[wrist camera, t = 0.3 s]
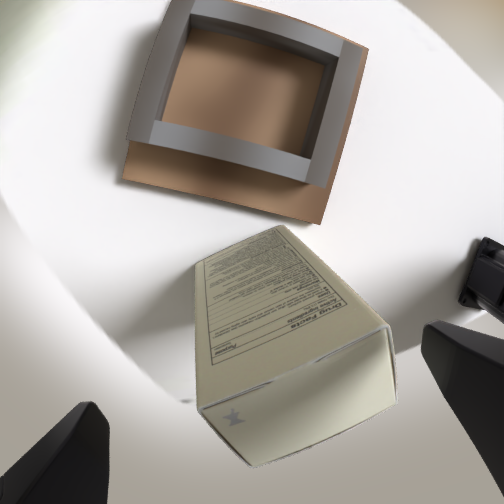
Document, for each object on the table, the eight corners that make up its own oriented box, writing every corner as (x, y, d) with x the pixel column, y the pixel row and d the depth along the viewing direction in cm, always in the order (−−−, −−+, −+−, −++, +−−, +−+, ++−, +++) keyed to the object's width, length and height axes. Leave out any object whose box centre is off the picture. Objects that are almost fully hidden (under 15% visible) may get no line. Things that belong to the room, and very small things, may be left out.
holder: (363, 51, 16) (386, 40, 13) (315, 222, 20) (333, 235, 17) (181, -4, 14) (178, -27, 11) (125, 177, 17) (110, 183, 14)
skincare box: (222, 316, 21) (243, 474, 9) (193, 261, 19) (183, 413, 8) (309, 277, 21) (403, 407, 9) (288, 219, 19) (393, 324, 8)
